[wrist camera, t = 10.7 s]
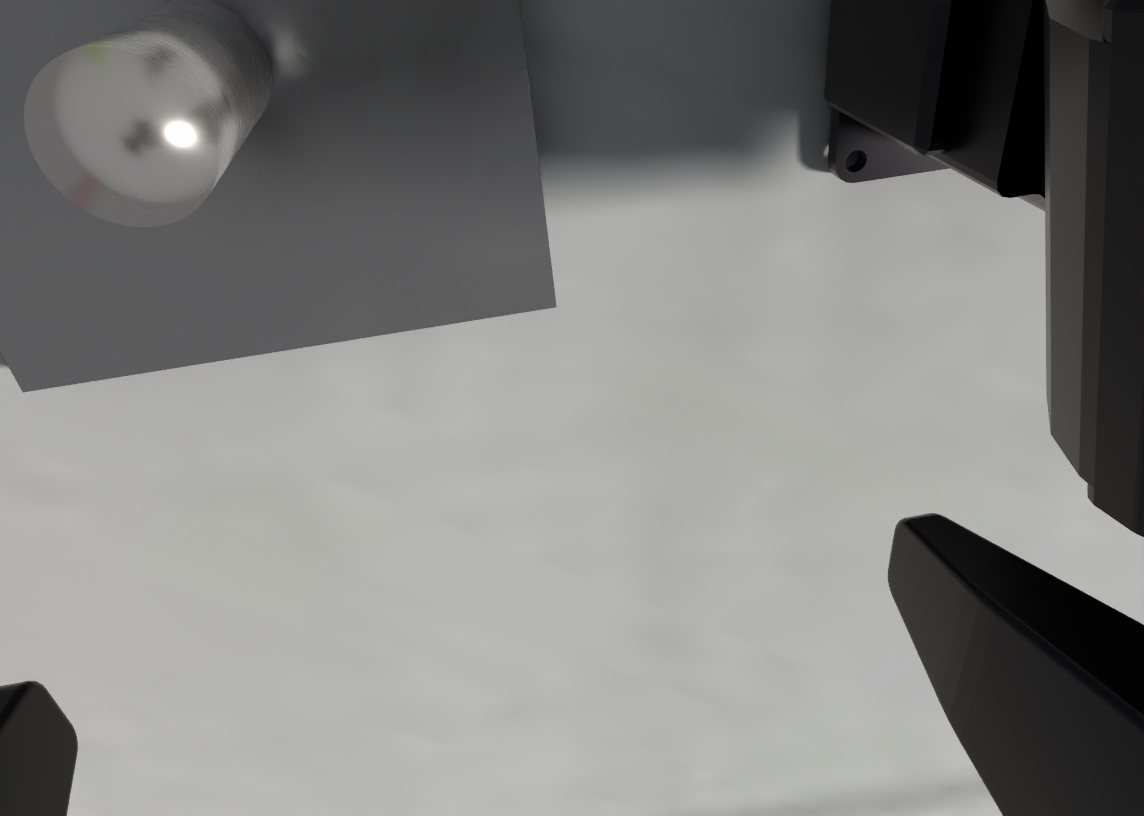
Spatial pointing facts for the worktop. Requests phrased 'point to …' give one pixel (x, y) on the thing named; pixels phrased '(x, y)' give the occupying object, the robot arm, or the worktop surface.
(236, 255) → the stake base
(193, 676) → the worktop surface
